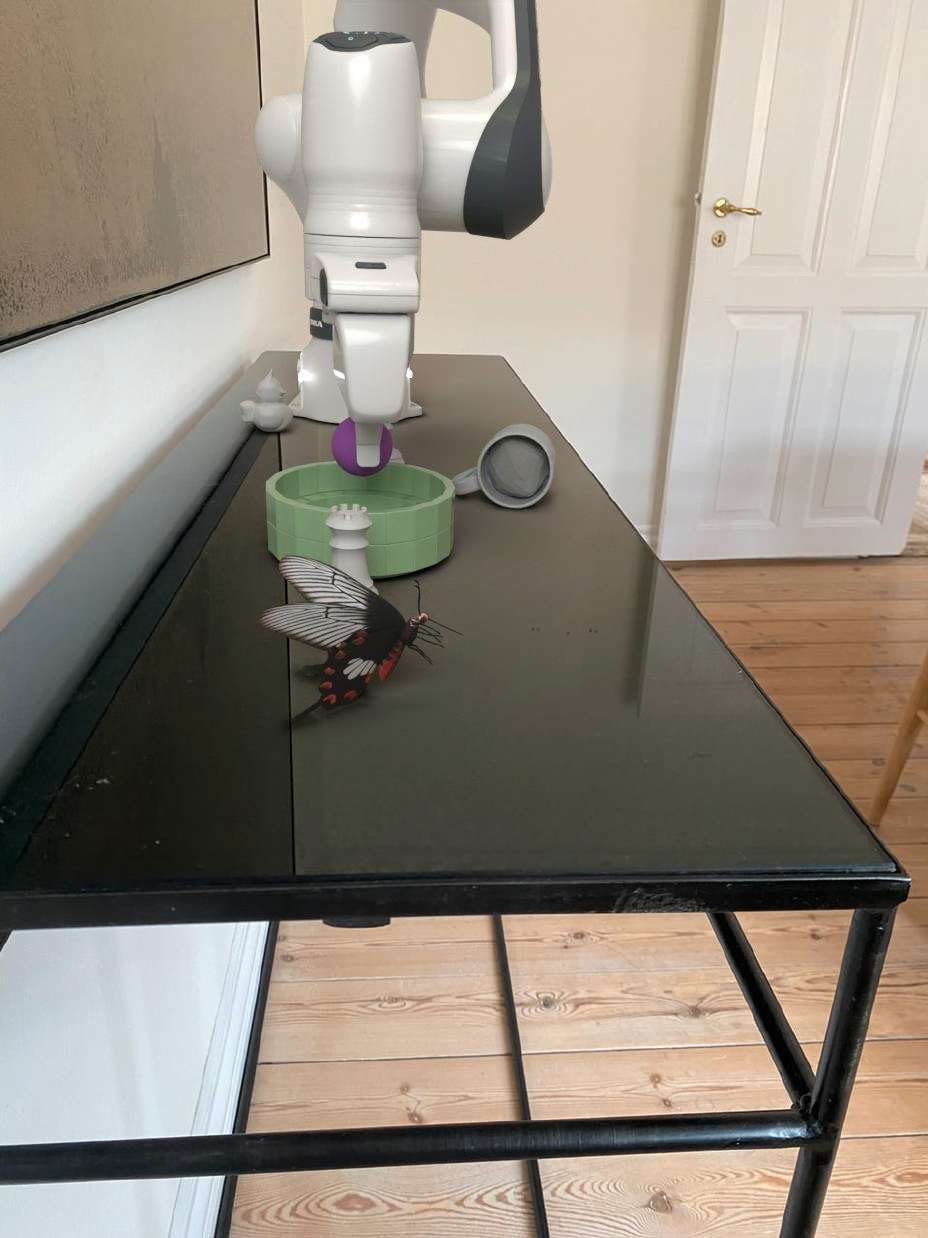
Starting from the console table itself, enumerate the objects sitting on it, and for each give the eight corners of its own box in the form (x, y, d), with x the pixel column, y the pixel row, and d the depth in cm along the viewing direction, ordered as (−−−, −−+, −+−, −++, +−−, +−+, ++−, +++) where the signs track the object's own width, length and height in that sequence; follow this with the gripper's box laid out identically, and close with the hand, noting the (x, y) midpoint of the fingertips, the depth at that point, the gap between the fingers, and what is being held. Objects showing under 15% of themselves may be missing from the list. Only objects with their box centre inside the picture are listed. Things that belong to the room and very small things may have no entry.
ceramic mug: (554, 489, 100) (558, 417, 97) (551, 511, 92) (556, 434, 89) (456, 483, 101) (458, 412, 98) (445, 505, 94) (446, 429, 90)
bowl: (268, 524, 86) (266, 460, 83) (436, 521, 88) (438, 459, 86) (268, 589, 72) (265, 514, 69) (467, 582, 75) (470, 511, 72)
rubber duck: (294, 436, 117) (292, 371, 114) (240, 436, 116) (236, 370, 112) (293, 426, 122) (290, 364, 118) (241, 426, 120) (237, 363, 117)
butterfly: (311, 777, 56) (187, 667, 52) (355, 685, 62) (247, 582, 59) (441, 712, 50) (310, 583, 47) (475, 618, 56) (363, 498, 53)
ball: (330, 467, 79) (328, 408, 77) (388, 466, 80) (389, 408, 78) (334, 484, 75) (332, 422, 72) (396, 483, 75) (396, 422, 73)
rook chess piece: (354, 632, 65) (354, 523, 62) (306, 616, 67) (302, 510, 64) (392, 611, 69) (393, 507, 65) (344, 597, 71) (343, 495, 68)
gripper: (314, 266, 80) (318, 427, 85) (329, 287, 61) (333, 490, 67) (388, 268, 81) (387, 427, 86) (424, 289, 62) (419, 488, 68)
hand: (363, 455), depth 76 cm, fingers closed on ball, 5 cm apart
